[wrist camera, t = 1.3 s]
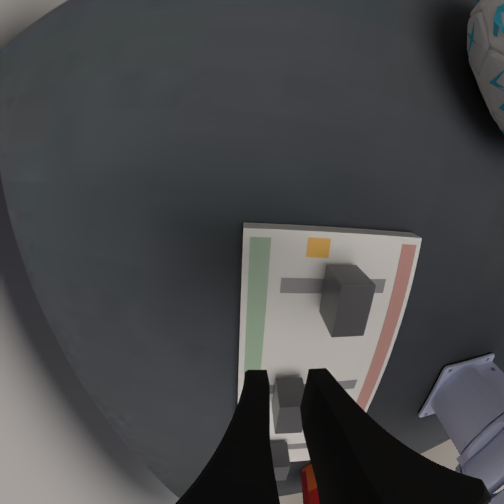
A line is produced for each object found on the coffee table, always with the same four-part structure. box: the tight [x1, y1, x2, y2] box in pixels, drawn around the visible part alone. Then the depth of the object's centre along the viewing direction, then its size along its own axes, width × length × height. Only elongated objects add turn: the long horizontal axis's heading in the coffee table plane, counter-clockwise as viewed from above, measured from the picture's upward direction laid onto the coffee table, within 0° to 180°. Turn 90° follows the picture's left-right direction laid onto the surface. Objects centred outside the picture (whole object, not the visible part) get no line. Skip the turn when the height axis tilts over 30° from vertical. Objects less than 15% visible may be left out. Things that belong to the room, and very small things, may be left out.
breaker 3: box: [319, 264, 376, 337], centre depth 16 cm, size 2×3×3 cm, turn 177°
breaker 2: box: [270, 442, 291, 481], centre depth 21 cm, size 2×3×3 cm, turn 177°
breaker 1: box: [272, 377, 305, 434], centre depth 19 cm, size 2×3×3 cm, turn 177°
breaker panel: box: [237, 222, 422, 462], centre depth 21 cm, size 12×25×2 cm, turn 177°
